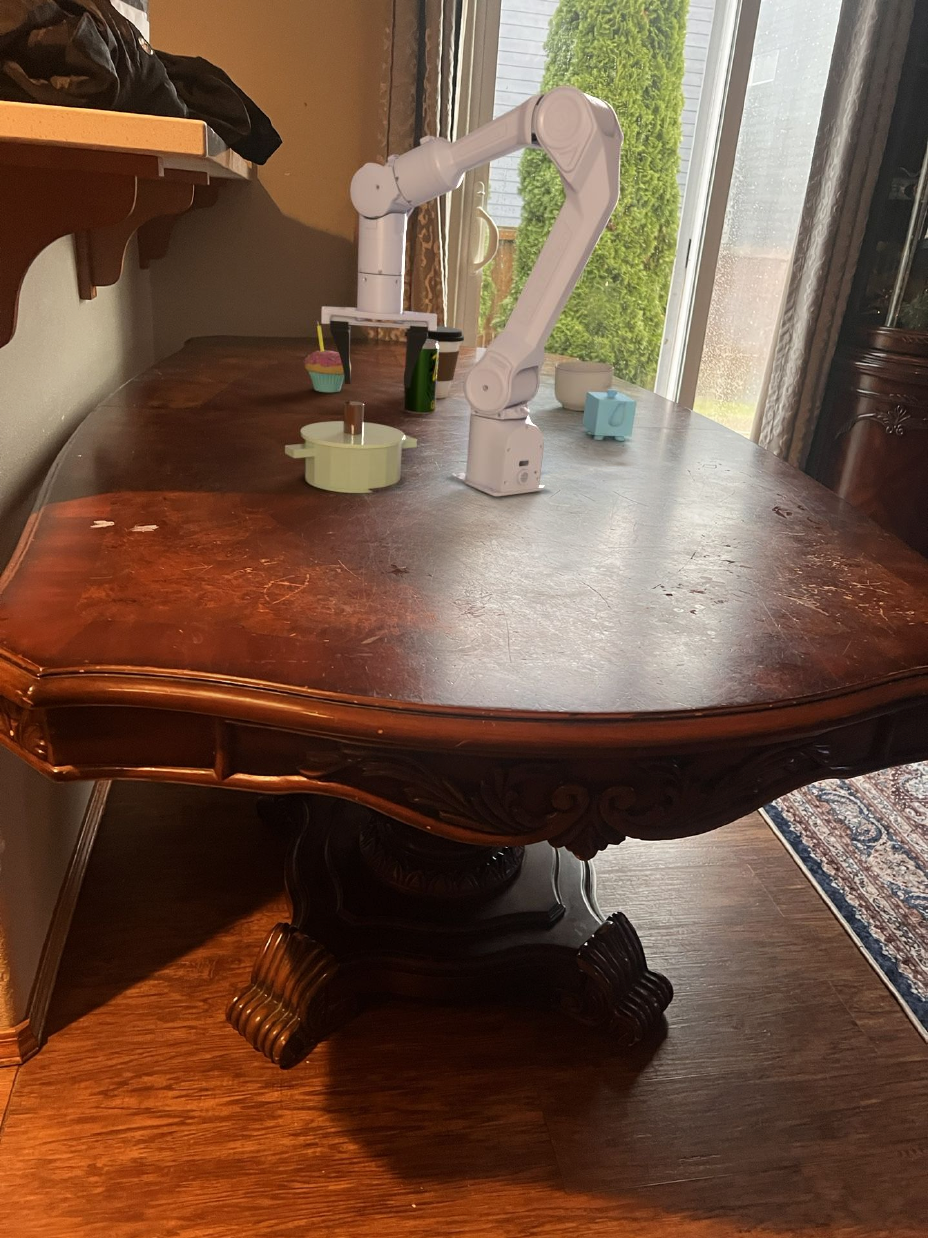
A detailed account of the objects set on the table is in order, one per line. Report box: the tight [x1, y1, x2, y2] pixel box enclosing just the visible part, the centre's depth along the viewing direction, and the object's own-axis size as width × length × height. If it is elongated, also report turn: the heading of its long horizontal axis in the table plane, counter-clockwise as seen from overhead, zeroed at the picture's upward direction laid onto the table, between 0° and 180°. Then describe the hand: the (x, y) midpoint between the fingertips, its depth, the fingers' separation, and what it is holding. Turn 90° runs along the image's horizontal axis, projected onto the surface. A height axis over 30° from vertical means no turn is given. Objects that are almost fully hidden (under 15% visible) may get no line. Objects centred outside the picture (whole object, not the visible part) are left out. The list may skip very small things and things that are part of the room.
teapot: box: [582, 388, 638, 442], centre depth 143 cm, size 12×6×8 cm, turn 9°
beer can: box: [402, 339, 439, 415], centre depth 149 cm, size 5×5×12 cm
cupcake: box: [303, 320, 352, 393], centre depth 163 cm, size 9×8×12 cm
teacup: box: [554, 360, 615, 412], centre depth 167 cm, size 14×11×8 cm
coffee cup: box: [404, 325, 465, 399], centre depth 166 cm, size 11×11×12 cm
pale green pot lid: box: [300, 400, 406, 449], centre depth 108 cm, size 13×13×5 cm
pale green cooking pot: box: [284, 434, 418, 494], centre depth 110 cm, size 12×17×5 cm
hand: (377, 384), depth 117 cm, fingers open, 7 cm apart
